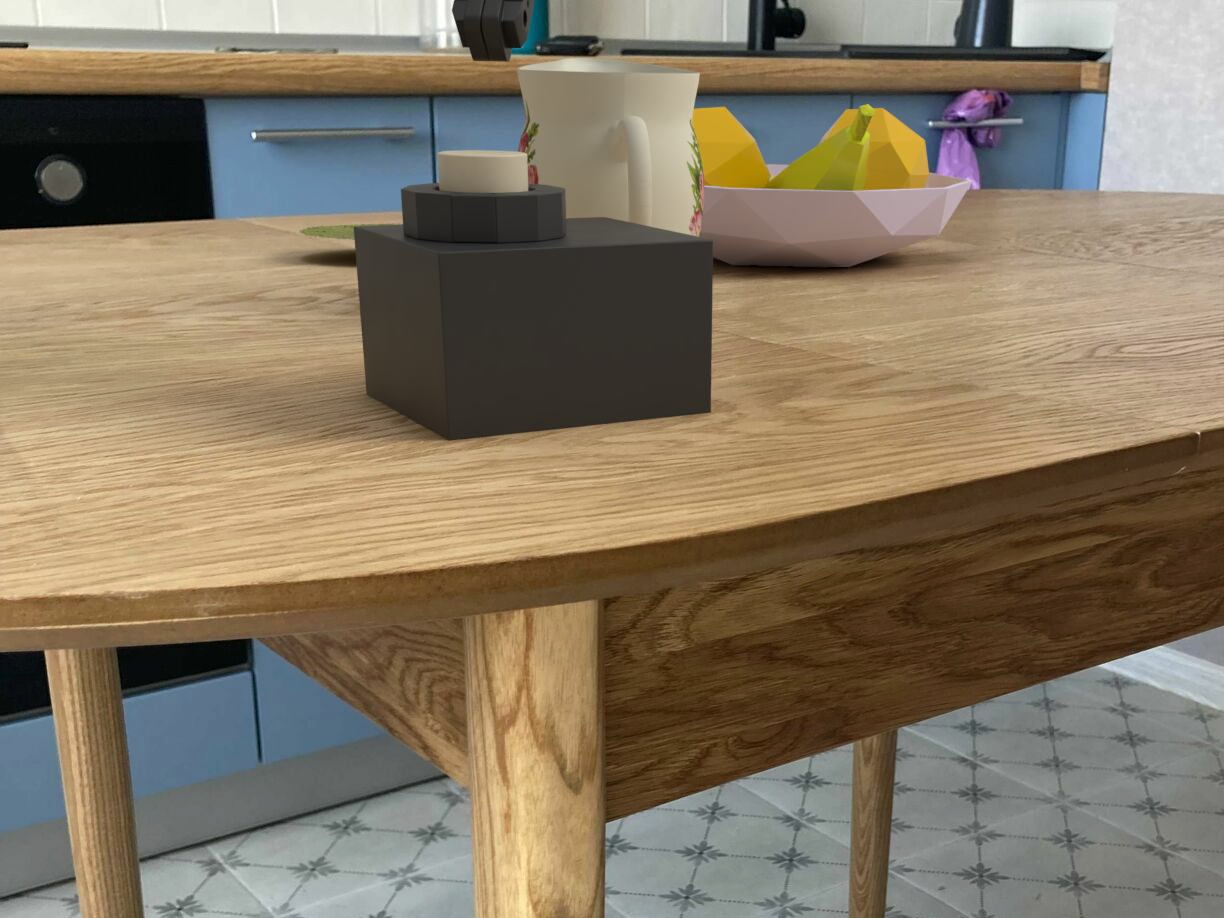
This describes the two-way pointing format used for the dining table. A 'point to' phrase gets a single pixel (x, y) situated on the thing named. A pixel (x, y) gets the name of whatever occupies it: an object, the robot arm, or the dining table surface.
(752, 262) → the fruit bowl
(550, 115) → the pitcher
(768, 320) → the dining table surface
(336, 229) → the mat
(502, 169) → the lid button
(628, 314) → the base
